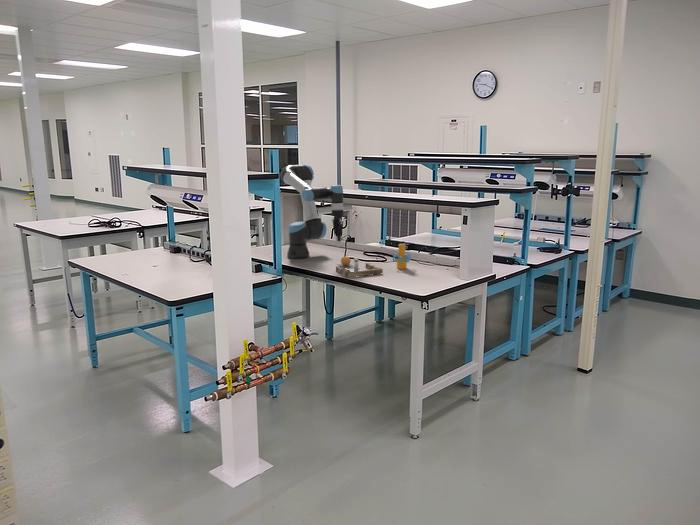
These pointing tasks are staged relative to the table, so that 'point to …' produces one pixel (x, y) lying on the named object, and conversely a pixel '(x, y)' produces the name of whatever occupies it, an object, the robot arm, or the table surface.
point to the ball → (345, 261)
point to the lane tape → (347, 266)
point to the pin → (355, 263)
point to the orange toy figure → (401, 257)
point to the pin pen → (370, 266)
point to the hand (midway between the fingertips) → (338, 245)
